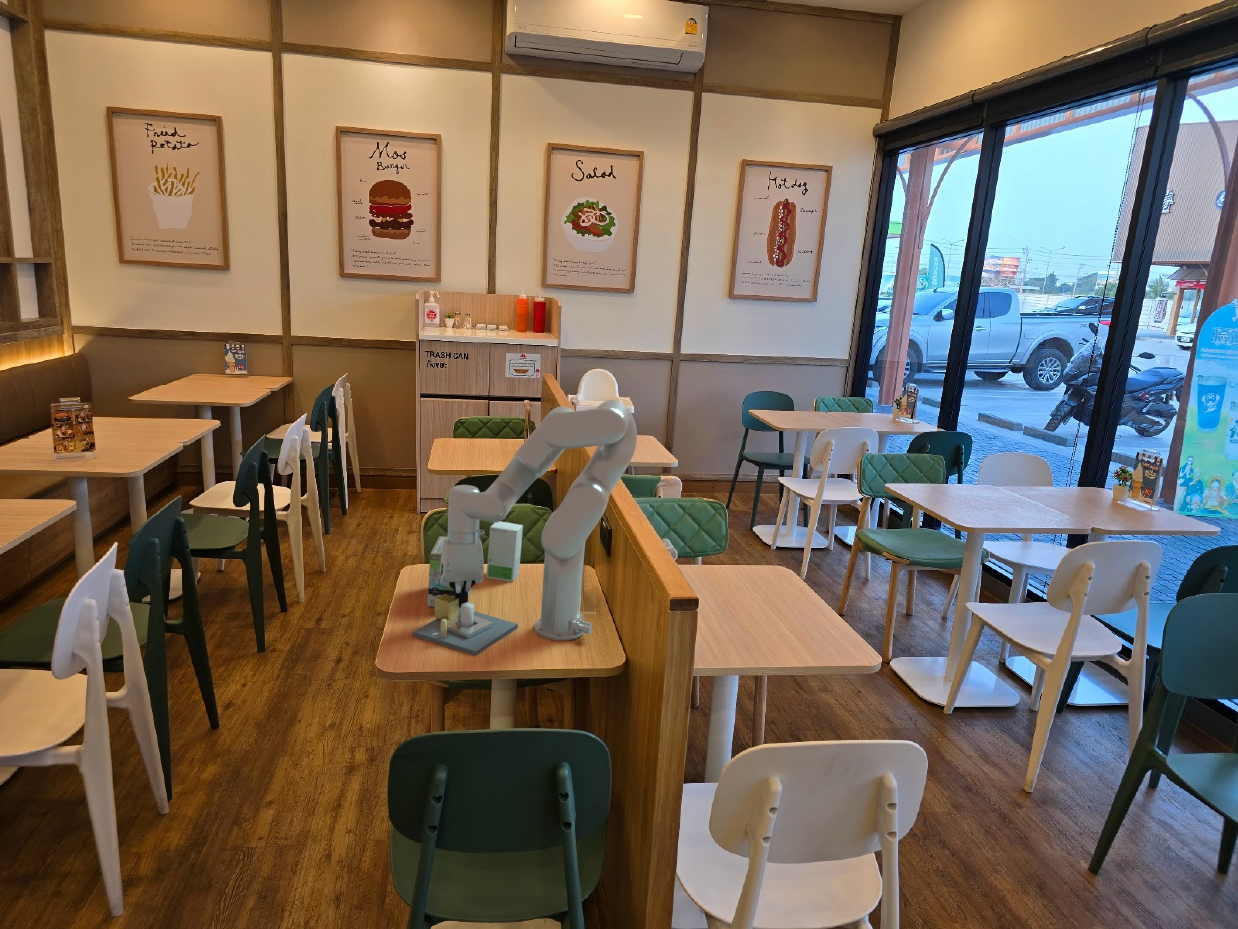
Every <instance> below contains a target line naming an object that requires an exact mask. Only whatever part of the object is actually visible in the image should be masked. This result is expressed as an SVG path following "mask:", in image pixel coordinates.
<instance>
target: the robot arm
mask: <svg viewBox="0 0 1238 929" xmlns="http://www.w3.org/2000/svg"><path fill="white" fill-rule="evenodd" d="M637 442H638V429H637V425H636V421H635V419H634V417H633V414H632V413H631V411H630V409H629V408H628V407H627V405H626V404H624V403H623V402H622V401H619V400H616V399H610V400H605V401H604V402H602V403H601V404H599V405H598V406H597V407H596V408H591V409H584V410H574V409H572V408H570V407H569V406H562V405H561V406H557V407H555V408H553V409H552V410H550V411H549V412H548V413H547V415H546V416H544V418H543V420H541V422H539V424H538V425H537V427H536V428H535V429H534V430H533V432H532V433H530V435H529V436H528V437H527V438H526V440H525V441H524V442H523V443H522V444H521V446H519V448H518V449H517V450H516V452H515V453H514V456H513V458H512V460H511V461H510V462H509V463H508V464H507V466H506V467H505V468H504V470H503V471H502V472H501V473H500V474H499V475H498V477H497V478H495V480H494V481H493V483H491V485H490V486H489V487H488V488H487V489H486V490H485V491H481V492H480V490H479V488H478V487H477V486H473V485H468V484H460V485H455V486H452V487H451V488H450V489H449V492H448V514H447V518H448V520H447V537H448V539H446V540H444V544H443V548H442V554H441V563H440V575H441V576H442V577H441V581H440V584H441V585H442V586H449V587H451V588H452V589H454V590H455V597H456V598H458V599H459V608H461V605H462V604H464V603H469V596H468V592H469V591H470V589H471V590H472V589H473V587H474V586H475V585H476V584H480V583H482V582H484V573H485V568H484V567H485V563H484V562H485V561H484V552H483V551H484V550H483V543H482V540H481V536H485V535H486V534H485V533H486V531H485V529H480V521H483V522H487V523H492V524H494V523H495V522H499V521H500V522H502V521H503V520H505V518H506V517H507V516H508V514H509V512H510V510H511V509H512V508H513V507H514V505H515V504H516V503H517V501H519V500H520V498H521V497H522V496H523V495H524V494H525V492H526V491H527V490H528V488H530V486H531V485H532V484H533V483H534V482H535V481H536V480H537V479H539V478H540V477H543V476H544V474H545V473H546V472H547V471H549V469H550V468H551V466H552V465H553V464H555V462H556V461H557V460H558V458H559V457H560V456H561V455H562V454H563V453H564V451H565V450H567V449H569V450H570V449H580V448H581V449H582V448H588V447H590V448H591V447H596V448H595V451H593V454H592V456H591V457H590V459H589V461H587V463H586V465H585V466H584V468H583V469H582V471H581V472H580V474H578V476H577V477H576V479H575V480H573V482H572V483H571V485H570V488H568V491H567V493H566V495H565V496H564V497H563V500H562V501H561V502H560V503H559V506H558V507H557V508H556V510H554V511H553V512H552V513H551V514H550V515H549V516H548V519H547V521H546V523H545V525H544V528H542V532H541V537H540V538H541V539H540V540H541V542H540V543H541V546H542V548H543V551H544V560H543V561H544V565H543V577H542V578H543V579H542V593H541V594H542V595H541V609H540V610H541V611H540V613H541V614H540V618H539V619H537V620H536V621H535V622H534V624H533V630H534V632H535V634H537V635H538V636H539V637H541V638H543V639H544V638H545V639H547V640H552V641H571V640H576V639H578V638H580V637H581V636H583V635H584V634H588V635H591V634H592V631H593V623H592V622H589V621H585V620H584V614H583V613H581V596H582V586H583V584H582V582H583V571H584V561H585V560H584V558H585V549H586V548H585V547H586V541H587V539H588V538H589V536H590V534H592V531H593V530H594V529H595V528H596V526H597V524H598V523H599V522H600V520H601V518H602V517H603V515H604V513H605V511H606V509H607V506H608V502H609V499H610V496H611V494H612V492H613V490H615V487H616V485H617V484H618V483H619V481H620V479H621V478H622V476H623V475H624V472H625V471H626V470H627V468H628V467H629V464H630V463H631V461H632V458H633V456H634V454H635V451H636V447H637ZM460 581H463V587H462V588H461V587H460ZM470 592H471V591H470Z"/></svg>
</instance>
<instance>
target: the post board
mask: <svg viewBox="0 0 1238 929" xmlns="http://www.w3.org/2000/svg"><path fill="white" fill-rule="evenodd" d="M474 608H475V605H474V604H473V603H471V602H467V603H464V604H462V605H461V608H459V607H458V615H461V624H460V626H463V627H465V628H469V627H471V626H473V625H474V624H473V615H474V616H477V617H480V618H482V619H485V620H488V621H490V622H493V627H491V628H489V629H486V630H484V631H482V632H480V633H478V634H476V635H474V636H472V637H470V638H465V637H463V636H460V635H458V634H455V633H453V632H450V631H448V630H447V620H446V619H442V620H439V619H436V618H434V619H433V620H432V621H430V622H428V623H426V624H424V625H423V626H420V627H418V628H417V629H415V630H413V631H412V637H415V638H417V639H421V640H423V641H424V640H425V641H427V642H430V643H433V644H436V645H439V646H443V647H445V648H449V649H453V650H455V651H457V652H461V653H465V654H468V655H471V656H473V657H474V656H475V657H476V656H478V655H479V654H480V653H482V652H484V651H486V649H488V648H490V647H492V646H493V645H495V644H496V643H498V642H499V641H501V640H502V639H504V638H505V637H507V636H509V635H510V634H511V633H512V632H514V631H516V630H517V629H519V623H517V622H513V621H510V620H506V619H504V618H503V619H502V618H499V617H497V616H492V615H489V614H485V613H482V612H479V611H475V610H474ZM440 623H441V628H440Z"/></svg>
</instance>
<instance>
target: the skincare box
mask: <svg viewBox="0 0 1238 929" xmlns="http://www.w3.org/2000/svg"><path fill="white" fill-rule="evenodd" d="M523 529H524V525H523V524H518V523H512V522H505V521H499V522H495V523H492V525H490V527H489V537H488V538H489V539H488V541H489V542H488V550H487V551H488V552H487V562H486V563H487V566H486V578H487V579H492V580H495V581H496V580H497V581H503V582H510V583H513V582H515V580H516V579H517V578H518V577H519V575H520V564H521V552H522V540H523Z"/></svg>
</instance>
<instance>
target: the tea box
mask: <svg viewBox="0 0 1238 929" xmlns="http://www.w3.org/2000/svg"><path fill="white" fill-rule="evenodd" d="M446 539H448V536H442V535H441V536H438V538H437V539H436V542H435V543H434V545H433V548H432V549H431V551H430V554H429V566H428V585H427V586H428V587H427V588H428V590H427V607H430V608H432V607H433V608H435V598H436V597H439V596H441V595H444V594H447V595H450V596H453V597H455V590H454V589H452V588H451V587H449V586H442V585H441V584H440V581H441V577H442V576H441V575H440V563H441V554H442V548H443V544H444V540H446ZM460 587H461V588H462V587H463V581H460ZM471 590H472V588H471V589H470V591H469V592H468V597H469V596H470V593H471ZM458 607H459V606H458Z"/></svg>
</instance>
